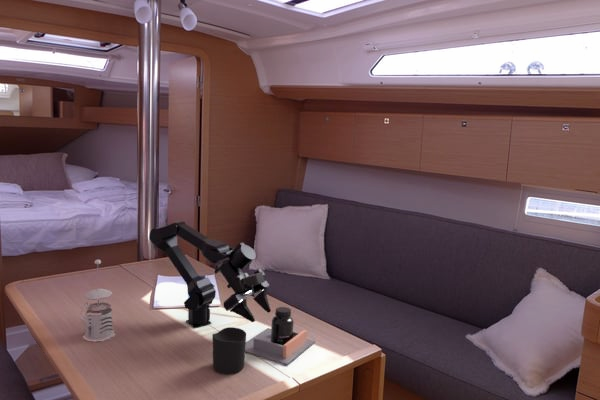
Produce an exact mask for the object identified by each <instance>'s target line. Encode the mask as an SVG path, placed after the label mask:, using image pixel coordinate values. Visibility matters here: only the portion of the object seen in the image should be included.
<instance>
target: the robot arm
mask: <svg viewBox="0 0 600 400" xmlns="http://www.w3.org/2000/svg"><path fill="white" fill-rule="evenodd" d="M178 237H179V238H180V239H183V240H184V241H186V242H187V243H189V244H191V245H192V246H194V247H195V248H196V249H198V250H199V251H200V252H201V254H202V256H203V257H204V258H205V259H206V260H207V261H208V262H209V263H210V264H211V263H212V264H215V268H214V274H215V275H217V274H221V275H222V276H223V278H224V279H225V280H226V282H227V285H226V288H228V289H232V291H233V293H232V294H231V295H230V296H229V297H228V298H226V300H224V301H223V308H224V309H225V311H226V312H230V313H232V312H233V313H234V314H236V315H239V316H240V317H242V318H244V319H246V320H247V321H249V322H250V323H254V322H256V320H255V317H254V315H253V313H252V312H251V310H250V308H249V307H248V304H247V299H248V298H249V297H250V296H251V297H253V298H252V299H253V300H254V301H255V303H257V304H258V305H259V306H260V307H261V308H262V309H263V310H264V311H265V312H267V313H269V314H270V313H271V311H272V310H271V307H270V304H269V300H268V295H267V294H268V290H269V287H270V283H269V282H268V281H267V280H265V277H266V273H265V272H264V271H263V270H262V269H261V268H259V269H255V270H254V272H253V274H250V275H249V274H248V273H247V272H243V271H242V270H243V269H245V268H246V267H247V266H248V265H249V264H250V263H252V262H253V260H255V259H256V258H257V256H256V252H255V250H254V249H253V248H252V247H251V246H249V245H247V244H245V243H244V242H239V243H238V244H237V245H236V247H235V248H233V247H231V246H229V244H228V243H226V242H223V241H221V240H217V239H212V238H210V237H207V236H206V235H205V234H203V233H201V232H199V231H198V230H197V229H195V228H193V227H192V226H191V225H188V224H187V223H186V222H185V221H183V220H181V221H180V220H179V221H174V222H172V223H171V224H168V225H163V226H159V227H158V226H157V227H154V228H152V229H151V230H150V232H149V240H150V242H151V243H152V244H153V245H154V247H156V248H157V249H158V250H160V251H162V252H164V253H165V254H166V256H167V257H168V259H169V260H170V262H171V263H172V264H173V266H174V268H175V269H176V271H177V273H179V275H180V277H181V278H182V279H183V281H184V283H185V284H186V285H187V295H188V298H187V299H186V300H185V301H183V304H184V308H185V309H186V310H188V315H187V316H188V317H187V319H186V320H185V323H187V325H189V326H191V327H192V328H195V329H196V328H199V327H204V326H207V325H211V324H212V322H211V321H210V320H211V309H210V305H211V304H213V301H214V299H215V298H216V293H217V291H216V289H215V285H214V284H213V283H212V281H211V279H210V278H209V277H204V278H203V277H201V276H200V275H199V273H198V272H197V271H196V269H195V268H194V267H193V265H192V263H191V262H190V260H189V259H188V258H187V256H186V255H185V253H184V252H183V251H182V249H181V248H180V246H179V245H178ZM219 262H221V263H219ZM216 263H218V264H216Z"/></svg>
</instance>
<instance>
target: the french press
mask: <svg viewBox="0 0 600 400" xmlns="http://www.w3.org/2000/svg"><path fill="white" fill-rule="evenodd" d="M101 263H102V261H101V259H95V260H94V264H95V265H97V268H96V269H97V270H99V265H100V264H101ZM112 295H113V292H112V291H111V290H109V289H105V288H100V287H99V281H97V288H94V289H91V290H89V291H88V292H86V293H84V295H83V297H85V299H87V300H88V301H89V300H90V301H97V302H95V303H92V302H91V303H88V302H85V303H84V304H83V305H82V308H81V310H80V315H82V312H83V309H84V307H85V306H86V309H85V312H84V321H85V323H84V321H83V317H82V316H80V322H81V323H82V325H84V326H85V333H84V334H85V335H84V334H83V335H84V336H85V338H87V339H89V340H103V339H107V338H110V337H112V336H113V335H114V332H115V330H113V308H111V306H112V305H111V304H110V303H108V302H102V301H101V302H100V300H104V299H107V298H110V297H111V296H112ZM95 314H98V315H95Z"/></svg>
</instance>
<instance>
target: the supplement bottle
mask: <svg viewBox="0 0 600 400" xmlns="http://www.w3.org/2000/svg"><path fill="white" fill-rule="evenodd" d="M274 315H275V316H273V317H272V318H271V327H270V329H271V342H273V343H276V344H280V345H284V344H286V343H287V342H288V341H290V340H291V339H292V338H293V331H294V322H295V321H294V319H293V318H292V309H291V308H290V307H285V306H279V307H276V308H275V313H274Z"/></svg>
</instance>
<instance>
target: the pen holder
mask: <svg viewBox="0 0 600 400" xmlns="http://www.w3.org/2000/svg"><path fill="white" fill-rule="evenodd" d="M246 342H247V333H246V331H245V330H244V329H241V328H238V327H231V326H229V327H224V328H221V330H219V331H218V332H215V333H212V364H213V370H214V371H215V372H217V373H218V374H220V375H234V374H235V375H236V374H237V373H240V372H241V371H242V370H243V369H244V367H245V360H246V359H245V358H246V356H245V355H246V353H245V345H246Z"/></svg>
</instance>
